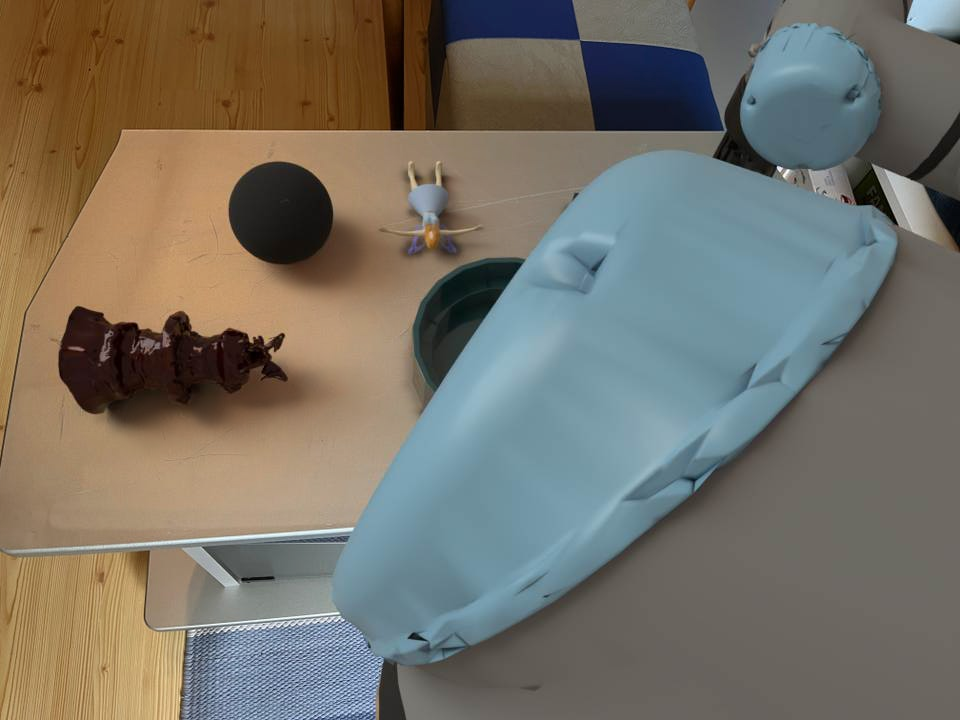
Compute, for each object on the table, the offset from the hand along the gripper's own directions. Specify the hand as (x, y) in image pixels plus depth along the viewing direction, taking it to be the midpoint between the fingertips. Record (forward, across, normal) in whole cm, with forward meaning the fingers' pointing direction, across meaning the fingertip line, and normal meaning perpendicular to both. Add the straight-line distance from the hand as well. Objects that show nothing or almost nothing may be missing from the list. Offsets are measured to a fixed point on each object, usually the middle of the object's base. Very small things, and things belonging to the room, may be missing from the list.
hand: (685, 264), depth 79 cm
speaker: (+3, +8, -41) cm, 42 cm away
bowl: (+3, +16, -16) cm, 23 cm away
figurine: (+3, +25, -44) cm, 51 cm away
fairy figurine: (+3, 0, -28) cm, 28 cm away
